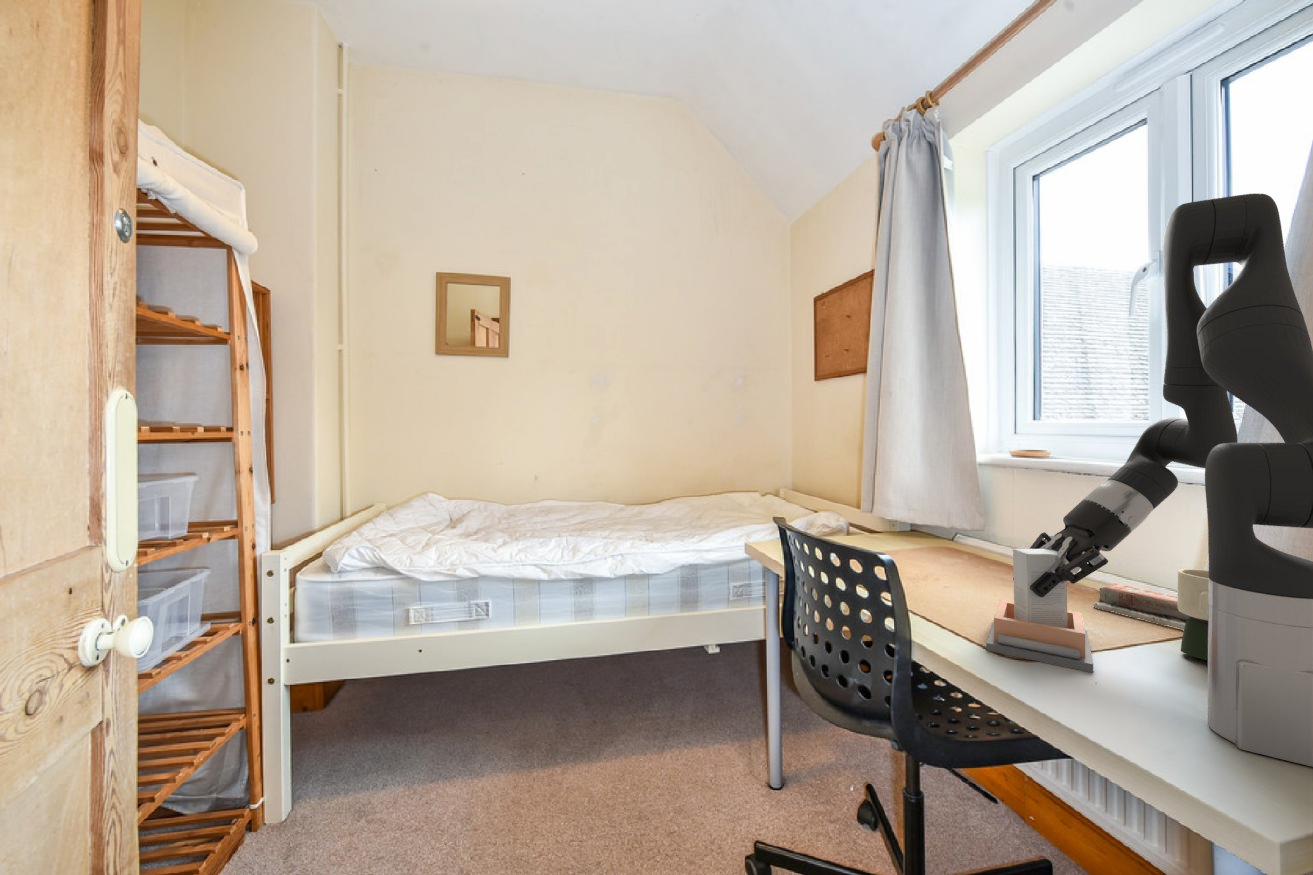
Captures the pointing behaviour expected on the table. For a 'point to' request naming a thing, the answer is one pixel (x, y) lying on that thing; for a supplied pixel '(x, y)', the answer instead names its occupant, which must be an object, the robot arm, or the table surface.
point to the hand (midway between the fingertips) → (1026, 587)
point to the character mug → (1194, 611)
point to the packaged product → (1141, 605)
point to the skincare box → (1026, 601)
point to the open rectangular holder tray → (1041, 639)
